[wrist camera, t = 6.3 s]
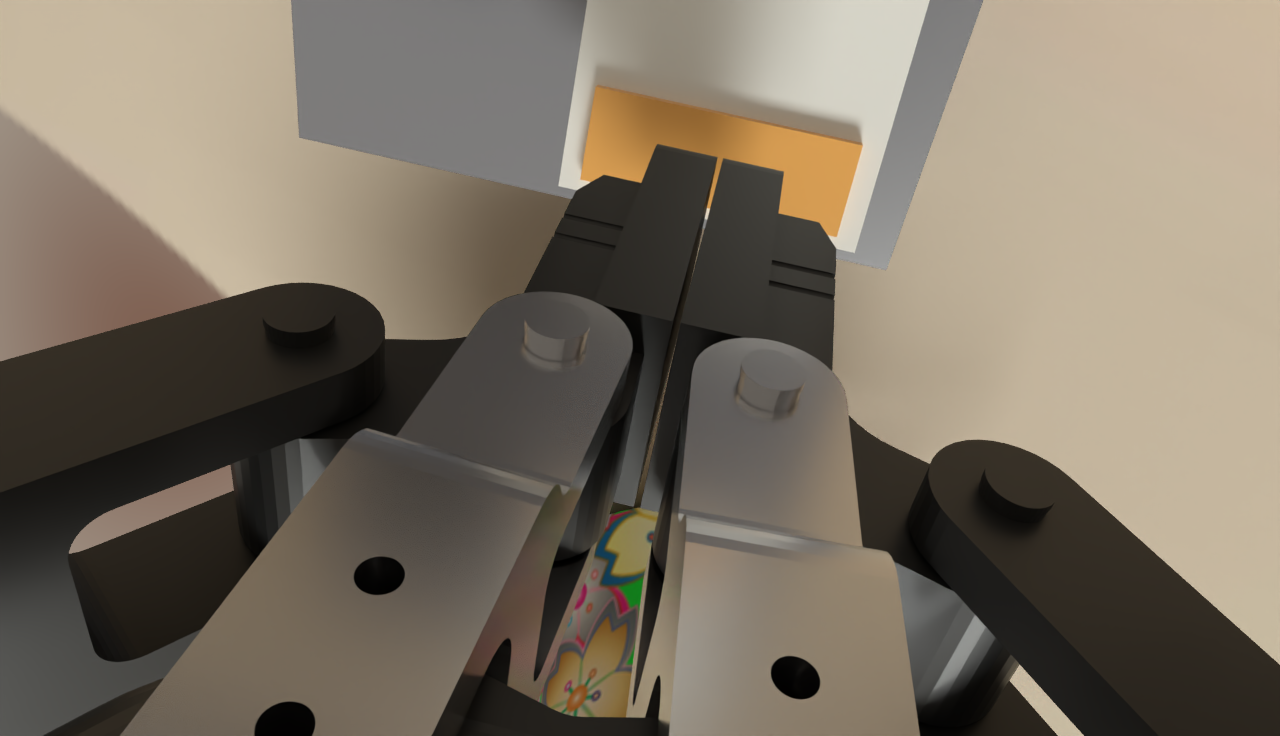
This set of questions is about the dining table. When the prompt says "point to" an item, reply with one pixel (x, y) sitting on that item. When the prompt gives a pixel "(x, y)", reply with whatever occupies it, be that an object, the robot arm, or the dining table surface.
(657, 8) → the rocker outlet
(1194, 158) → the dining table surface
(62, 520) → the robot arm
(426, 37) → the power strip
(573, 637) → the mug
